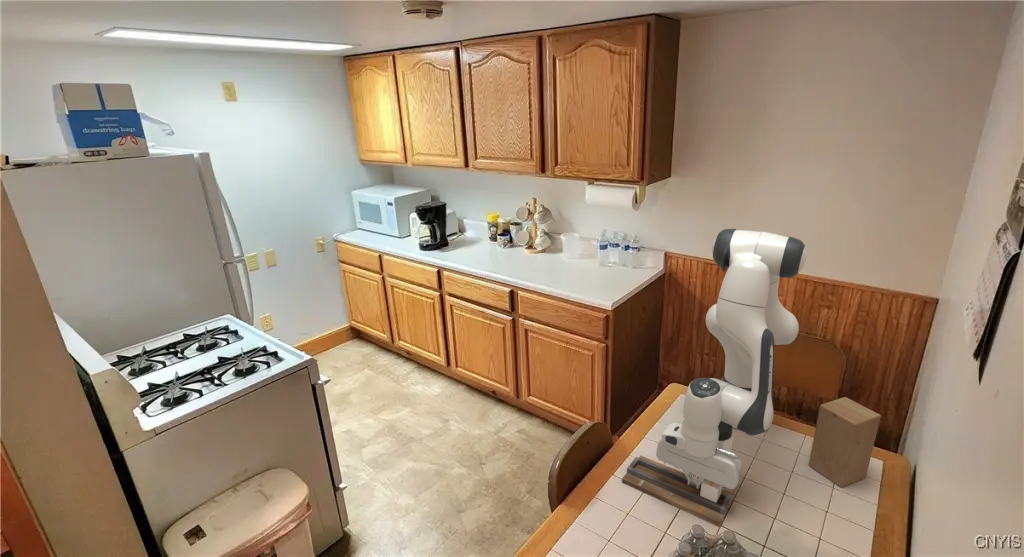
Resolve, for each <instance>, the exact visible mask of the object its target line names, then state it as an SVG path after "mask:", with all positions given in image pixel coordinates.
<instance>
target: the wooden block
mask: <svg viewBox="0 0 1024 557" xmlns="http://www.w3.org/2000/svg"><path fill="white" fill-rule="evenodd" d="M881 417H882V415H881V414H880V413H877V412H875V411H874V410H872V409H870V408H868V407H865V406H864V405H862V404H860V403H858V402H857V401H855V400H852V399H850V398H849V397H846V396H844V397H839V398H837V399H834V400H831V401H829V402H825V403H821V404H820V405H819V410H818V414H817V419H816V425H815V428H814V429H815V431H814V434H813V440H812V445H811V448H810V449H811V450H810V455H809V460H808V466H809V467H810V468H812V469H814V470H815V471H817V472H818V473H819V474H821V475H822V476H824V477H825V478H826V479H828V480H829V481H831V482H832V483H834V484H835V485H837V486H838V487H839V488H843V487H846V486H848V485H851V484H853V483H856V482H858V481H860V480H863V479H865V478H867V474H868V470H869V466H870V462H871V458H872V455H873V454H872V453H873V450H874V446H875V441H876V437H877V434H878V430H879V426H880V421H881Z"/></svg>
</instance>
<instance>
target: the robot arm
mask: <svg viewBox="0 0 1024 557" xmlns="http://www.w3.org/2000/svg"><path fill="white" fill-rule="evenodd" d="M711 252H712V259H713V261H714V263H715V264H716V265H717V267H719V268H720V269H721V272H723V273H725V275H724V277H723V280H722V283H721V286H720V289H719V293H718V297H717V300H716V301H717V302H716V303H715V304H713V305H712V306H710V307H709V308H708V310H707V312H706V315H705V326H706V328H707V330H708V331H709V333H710V334H712V335H713V336H714V337H715V338H716V340H718V341H719V343H720V344H721V346H722V347H723V351H724V356H725V362H724V363H725V364H724V373H723V374H722V378H721V379H718V378H715V377H714V378H713V377H709V378H707V377H699V378H696V379H694V380H692V381H691V382H690V383H689V385H688V387H687V389H686V393H685V397H684V400H683V402H684V403H683V407H682V408H683V410H682V416H683V422H682V423H680V422H671V423H670V424H668V425H667V426H666V427H665V429H664V430H663V432H662V434H661V435H660V436H661V439H660V440H659V442H658V443H657V447H656V452H655V453H656V454H655V456H656V458H657V459H658V461H661V462H663V463H666V464H668V465H671V466H673V467H676V468H678V469H680V470H683V471H684V472H683V473H684V474H685V475H686V477H687V479H688V485H690V486H692V487H695V488H697V489H699V488H700V485H701V483H702V482H703V481H704V479H707V480H709V481H712V482H714V483H717V484H719V485H722V487H724V488H727V489H729V490H733V489H735V488H736V487H737V486H738V483H739V479H740V470H741V468H742V459H741V458H740V457H739V456H738V455H737V454H736V453H734V452H732V451H731V452H728V451H726V450H724V449H721V448H718V447H717V446H718V438H719V430H718V425H719V423H720V421H722V422H725V423H727V424H729V425H732V427H733V429H737V430H740V431H741V432H743V433H745V434H747V435H748V436H757V435H762V434H763V433H766V432H768V431H769V430H770V428H771V425H772V423H773V420H774V396H773V395H774V379H775V378H774V377H775V353H776V352H775V350H776V348H775V345H782V346H783V345H790V344H791V343H793V341H795V339H796V338H797V337H798V334H799V330H800V329H799V328H800V327H799V326H800V325H799V321H798V319H797V317H796V316H795V315H794V314H793V313H792V312H790V311H789V310H788V309H786V307H784V306H783V304H782V303H781V301H780V299H779V286H780V279H781V278H783V279H791V278H794V277H796V276H798V275H799V272H801V271H802V269H803V268H804V267H805V265H806V262H807V250H806V245H805V243H804V242H803V241H802V240H801V239H798V238H796V237H793V236H789V237H788V236H785V235H780V234H777V233H773V232H769V231H758V230H757V231H755V230H748V229H747V230H742V229H737V228H724V229H723V230H721V231H720V232H718V234H717V235H716V236H715V239H714V240H713V243H712V250H711ZM693 475H695V476H697V477H694V476H693Z"/></svg>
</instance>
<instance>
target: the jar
mask: <svg viewBox="0 0 1024 557" xmlns="http://www.w3.org/2000/svg"><path fill="white" fill-rule="evenodd" d="M733 429H734V428H733V427H732V425H729V424H727V423H725V422H722V421H720V423H719V425H718V430H719V438H718V446H717V447H718V448H721V449H724V450H726V451H728V452H732V449H733V442H734V441H733V440H734V435H733Z"/></svg>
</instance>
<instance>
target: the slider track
mask: <svg viewBox="0 0 1024 557" xmlns="http://www.w3.org/2000/svg"><path fill="white" fill-rule="evenodd" d="M621 483H622V484H625V485H627V486H629V487H631V488H634V489H636V490H638V491H639V492H642V493H645V494H647V495H648V496H651V497H654V498H656V499H658V500H660V501H663V502H665V503H667V504H669V505H671V506H673V507H675V508H678V509H679V510H682V511H684V512H686V513H689V514H691V515H692V516H695V517H696V518H697V517H698V518H700V519H701V520H704V521H706V522H708V523H710V524H713V525H715V526H718V527H720V528H721V525H722V523H723V521H724V519H725V517H726V515H727V512H728V510H729V508H730V507H731V504H732V502H733V500H734V498H735V497H734V496H735V493H734V492H731V491H728V490H726V489H723V488H722V490H721V495H720V497H719V499H718V501H717V503H713V502H711V501H709V500H706V499H704V498H702V496H700V493H701V485H700V488H699V489H697V488H695V487H692V486H690V485H688V479H687V477H686V475H685V474H684V472H682V471H679V470H677V469H675V468H673V467H669V466H667V465H665V464H662V463H660V462H657V461H655V460H653V459H650V458H648V457H645V456H643V455H639V456H635V458H634V459H633V460H632V462H630V464H629V465H628V466H627V467H626V473H625V474H624V476H623V477H622V478H621ZM701 484H702V483H701Z"/></svg>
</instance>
